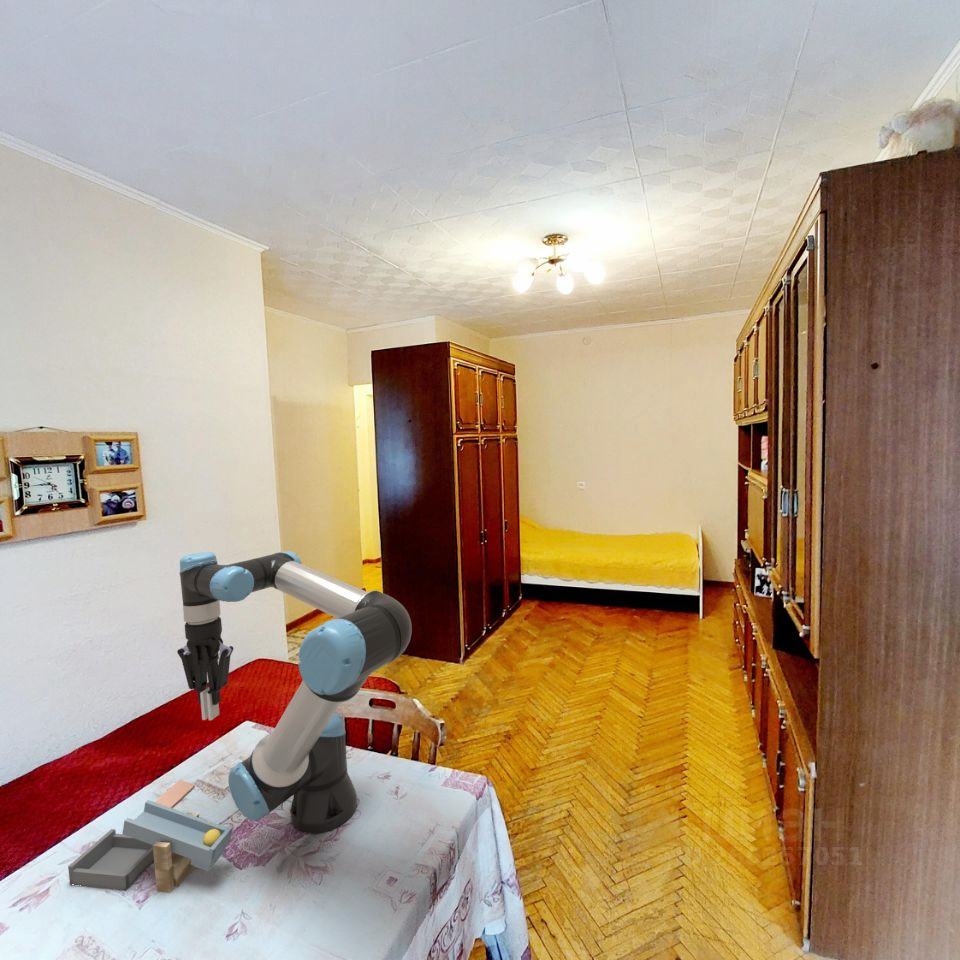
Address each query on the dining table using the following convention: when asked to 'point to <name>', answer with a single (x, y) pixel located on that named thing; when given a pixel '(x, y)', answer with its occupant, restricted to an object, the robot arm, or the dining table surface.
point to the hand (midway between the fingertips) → (210, 716)
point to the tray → (112, 862)
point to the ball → (211, 837)
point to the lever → (178, 828)
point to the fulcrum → (170, 866)
